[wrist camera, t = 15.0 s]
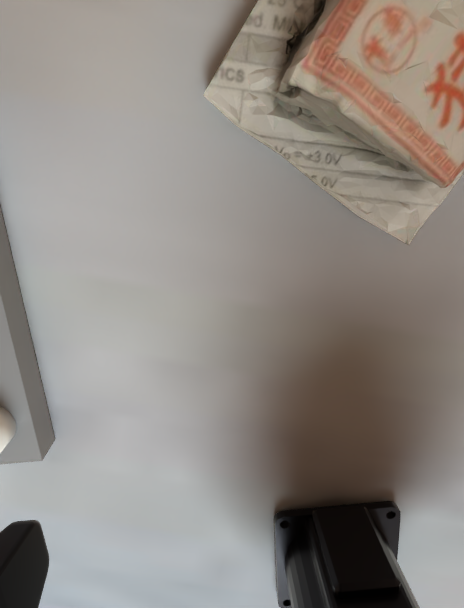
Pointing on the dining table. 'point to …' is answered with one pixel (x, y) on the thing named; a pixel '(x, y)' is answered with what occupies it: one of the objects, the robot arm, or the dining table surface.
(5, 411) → the breaker panel
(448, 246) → the dining table surface
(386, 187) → the packaged product
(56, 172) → the dining table surface
